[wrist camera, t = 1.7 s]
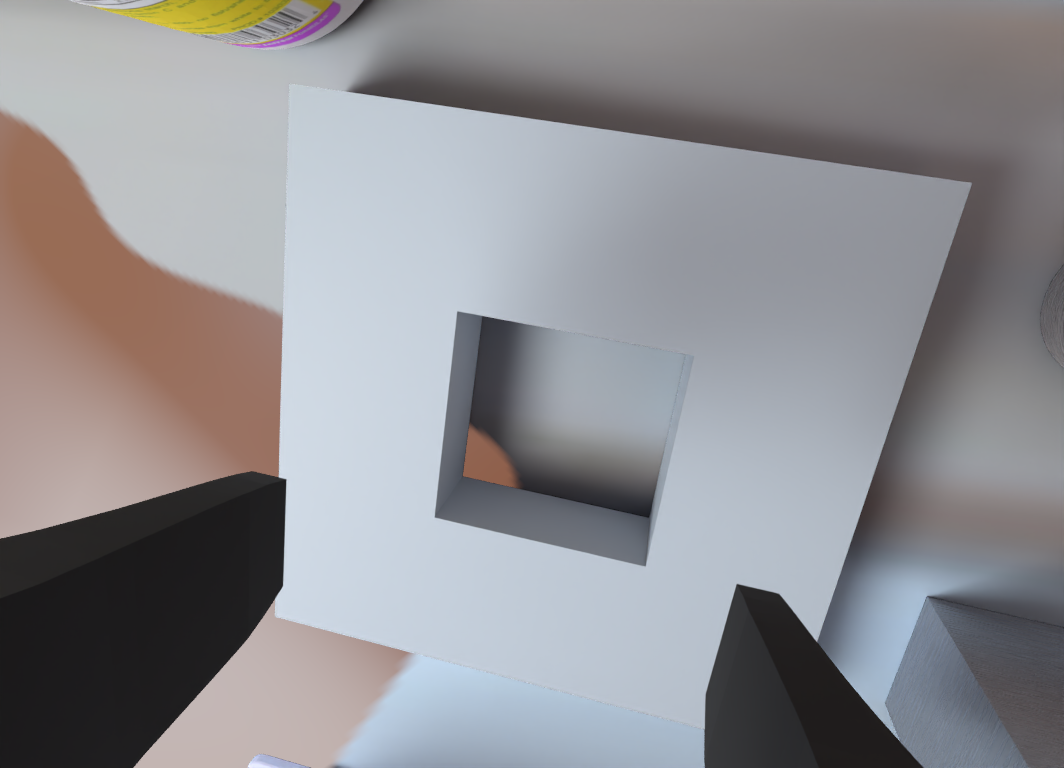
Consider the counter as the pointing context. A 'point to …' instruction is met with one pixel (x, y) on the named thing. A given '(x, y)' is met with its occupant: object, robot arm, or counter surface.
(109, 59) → the counter surface
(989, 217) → the counter surface
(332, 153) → the bore block
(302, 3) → the supplement bottle
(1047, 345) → the round bit
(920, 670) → the square bit
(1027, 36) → the counter surface
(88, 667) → the robot arm
